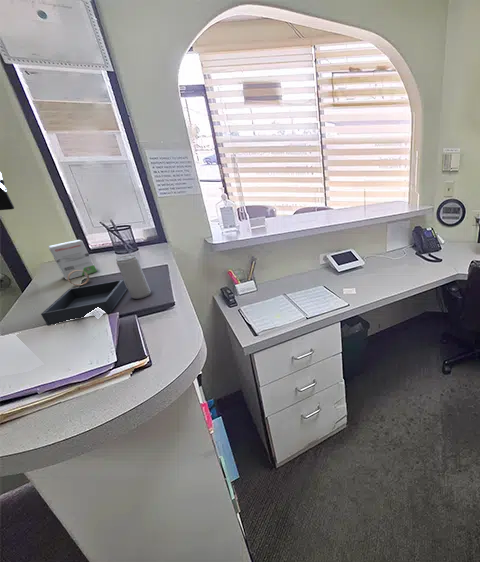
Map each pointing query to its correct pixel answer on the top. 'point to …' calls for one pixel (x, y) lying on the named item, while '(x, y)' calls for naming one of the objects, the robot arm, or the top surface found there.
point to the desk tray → (85, 301)
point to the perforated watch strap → (84, 274)
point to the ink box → (72, 258)
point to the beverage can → (133, 276)
